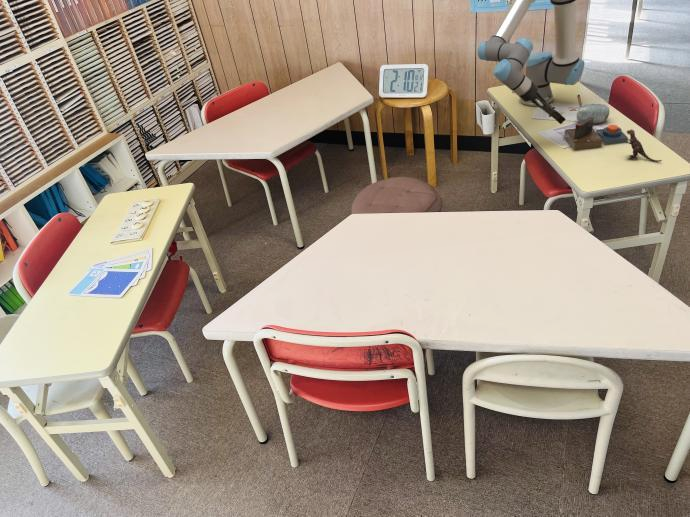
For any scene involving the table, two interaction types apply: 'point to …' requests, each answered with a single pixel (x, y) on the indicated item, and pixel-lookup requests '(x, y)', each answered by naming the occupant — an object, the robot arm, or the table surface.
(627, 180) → the table surface
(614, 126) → the button
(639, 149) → the dinosaur model
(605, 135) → the buzzer
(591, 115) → the grey striped ovoid
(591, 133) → the dial console
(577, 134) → the pointer
